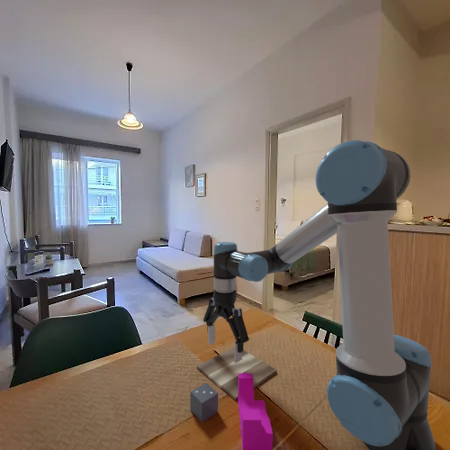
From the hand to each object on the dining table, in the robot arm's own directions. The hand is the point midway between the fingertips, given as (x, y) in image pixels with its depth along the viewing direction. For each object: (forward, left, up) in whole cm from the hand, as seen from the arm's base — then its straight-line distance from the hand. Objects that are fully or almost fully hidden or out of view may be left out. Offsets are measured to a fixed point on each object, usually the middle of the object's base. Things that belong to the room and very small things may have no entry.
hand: (224, 351), depth 85 cm
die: (-12, +17, -4) cm, 21 cm away
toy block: (-23, +11, -4) cm, 25 cm away
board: (-6, 0, -3) cm, 7 cm away
